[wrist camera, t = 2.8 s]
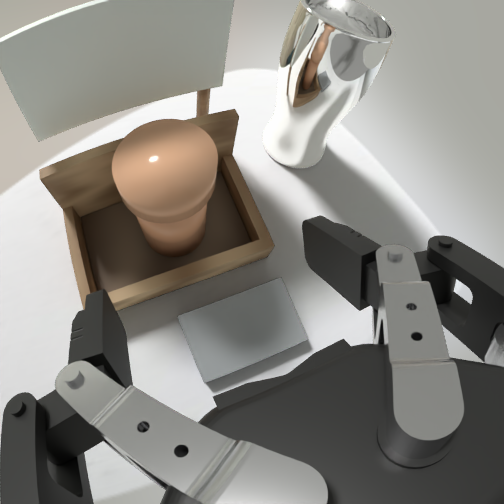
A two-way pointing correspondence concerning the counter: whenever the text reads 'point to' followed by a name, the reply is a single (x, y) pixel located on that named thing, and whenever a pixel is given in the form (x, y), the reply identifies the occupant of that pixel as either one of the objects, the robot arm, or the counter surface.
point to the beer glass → (323, 75)
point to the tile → (242, 329)
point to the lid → (113, 58)
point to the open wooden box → (130, 233)
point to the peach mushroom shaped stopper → (167, 182)
